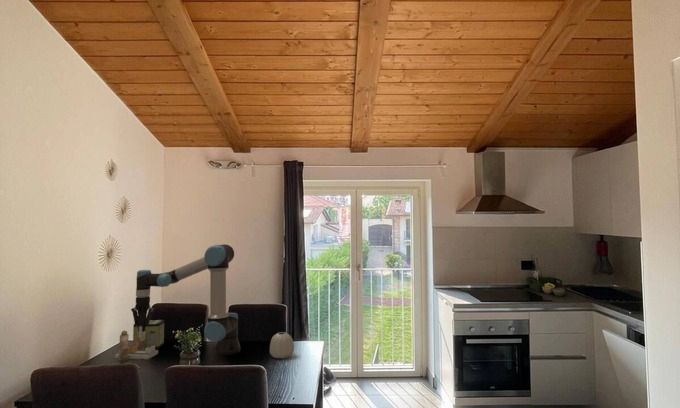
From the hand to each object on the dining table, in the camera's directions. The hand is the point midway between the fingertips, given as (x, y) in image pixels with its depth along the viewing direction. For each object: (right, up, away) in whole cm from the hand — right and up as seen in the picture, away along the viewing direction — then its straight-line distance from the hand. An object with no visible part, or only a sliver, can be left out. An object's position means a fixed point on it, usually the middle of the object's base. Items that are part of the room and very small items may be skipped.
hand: (141, 337), depth 227 cm
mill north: (-6, -10, -8) cm, 15 cm away
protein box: (-5, -13, +18) cm, 22 cm away
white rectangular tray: (-2, -11, -1) cm, 11 cm away
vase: (+83, -10, -3) cm, 84 cm away
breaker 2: (+6, -8, -1) cm, 10 cm away
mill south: (-5, -12, +8) cm, 15 cm away
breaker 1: (-5, -9, 0) cm, 10 cm away
